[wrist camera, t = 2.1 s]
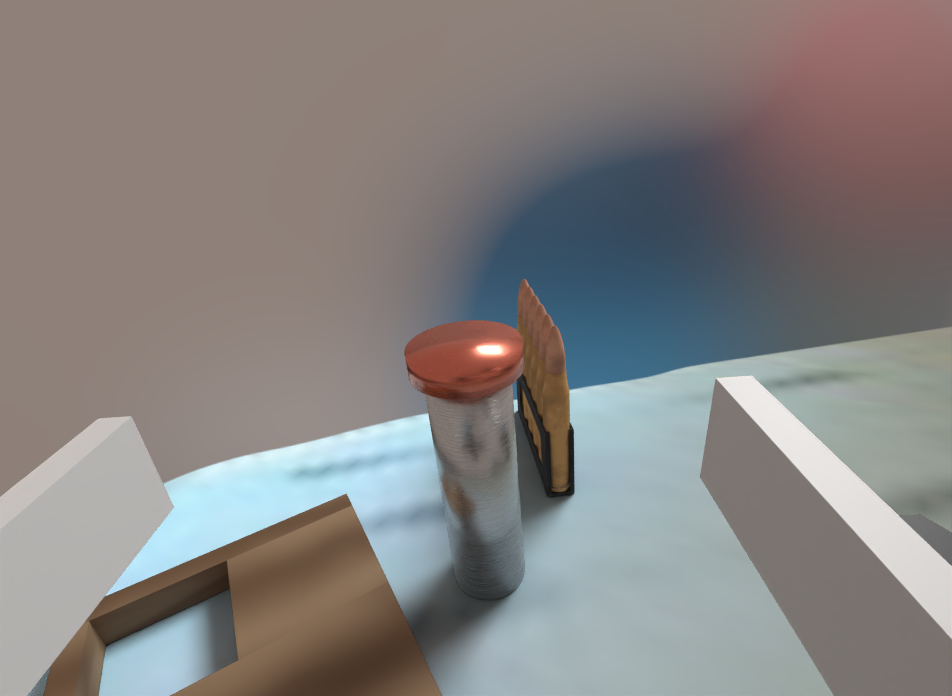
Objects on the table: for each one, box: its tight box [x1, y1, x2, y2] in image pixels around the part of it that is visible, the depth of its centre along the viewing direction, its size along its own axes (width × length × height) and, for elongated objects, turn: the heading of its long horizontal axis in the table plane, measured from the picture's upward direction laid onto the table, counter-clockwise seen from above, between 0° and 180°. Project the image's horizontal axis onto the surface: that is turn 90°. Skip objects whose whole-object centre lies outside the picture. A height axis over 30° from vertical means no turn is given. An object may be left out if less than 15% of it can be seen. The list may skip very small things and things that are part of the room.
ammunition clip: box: [517, 279, 574, 497], centre depth 34 cm, size 11×2×12 cm, turn 6°
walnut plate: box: [43, 494, 442, 696], centre depth 22 cm, size 15×15×2 cm
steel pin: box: [405, 320, 525, 600], centre depth 24 cm, size 5×5×14 cm
